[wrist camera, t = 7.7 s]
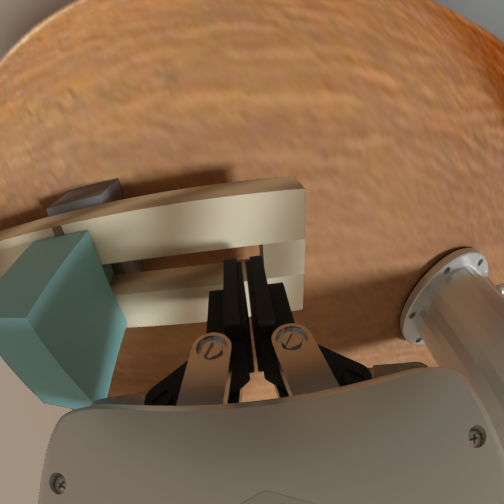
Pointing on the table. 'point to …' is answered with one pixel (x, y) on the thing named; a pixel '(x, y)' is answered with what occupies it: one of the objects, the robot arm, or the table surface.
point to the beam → (178, 241)
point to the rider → (61, 321)
